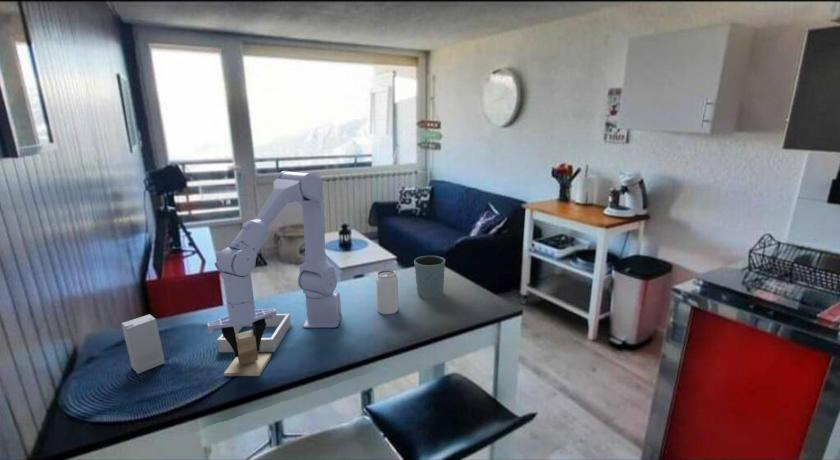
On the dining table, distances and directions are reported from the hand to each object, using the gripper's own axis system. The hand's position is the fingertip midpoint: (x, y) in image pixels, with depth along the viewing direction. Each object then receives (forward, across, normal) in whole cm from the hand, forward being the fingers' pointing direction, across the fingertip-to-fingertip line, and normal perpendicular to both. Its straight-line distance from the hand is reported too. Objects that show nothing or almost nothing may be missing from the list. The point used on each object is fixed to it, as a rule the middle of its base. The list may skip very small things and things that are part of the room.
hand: (247, 352), depth 98 cm
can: (+4, -42, -9) cm, 43 cm away
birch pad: (+4, 0, 0) cm, 4 cm away
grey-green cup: (+4, -59, -12) cm, 60 cm away
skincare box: (+4, +20, -12) cm, 24 cm away
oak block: (+2, 0, 0) cm, 2 cm away
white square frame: (+4, -4, -13) cm, 14 cm away
